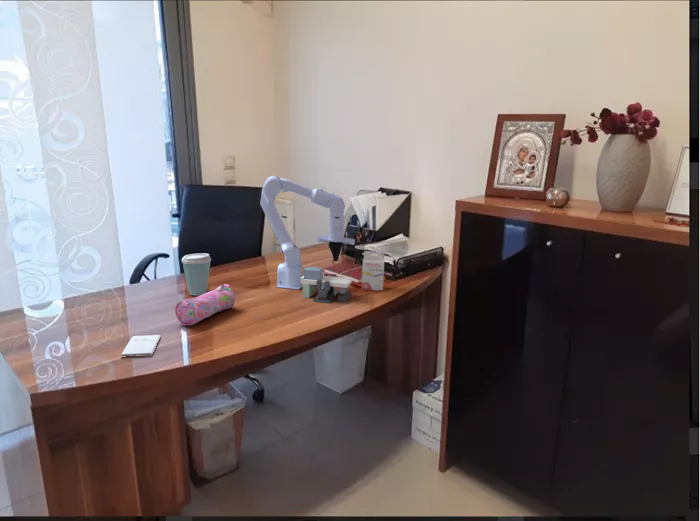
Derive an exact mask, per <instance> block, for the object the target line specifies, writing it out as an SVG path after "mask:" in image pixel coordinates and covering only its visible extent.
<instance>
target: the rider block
mask: <svg viewBox="0 0 700 521" xmlns="http://www.w3.org/2000/svg"><path fill="white" fill-rule="evenodd" d="M323 270H324V267H318V266H317V267H316V266H306V267H305V268H304V269H303V276H304V279H309V280H321V279H322V278H323V276H324V274H323V273H324V271H323Z"/></svg>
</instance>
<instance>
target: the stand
mask: <svg viewBox="0 0 700 521" xmlns="http://www.w3.org/2000/svg"><path fill="white" fill-rule="evenodd" d="M323 276H330V273H324V274H323ZM330 277H338V276H337V274H335V273H331V276H330ZM322 286H323V285H322V280H317V285H316V290H318V294H317V295H316V296H314V298H313V302H316V303H321V304H322V303H323V304H330V303H331V302H332V301H333V300H334V299H335V298H336V296H338V294H340V289H336V288H335V287H334V286H330V281H325V282H324V289H321V287H322Z"/></svg>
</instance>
